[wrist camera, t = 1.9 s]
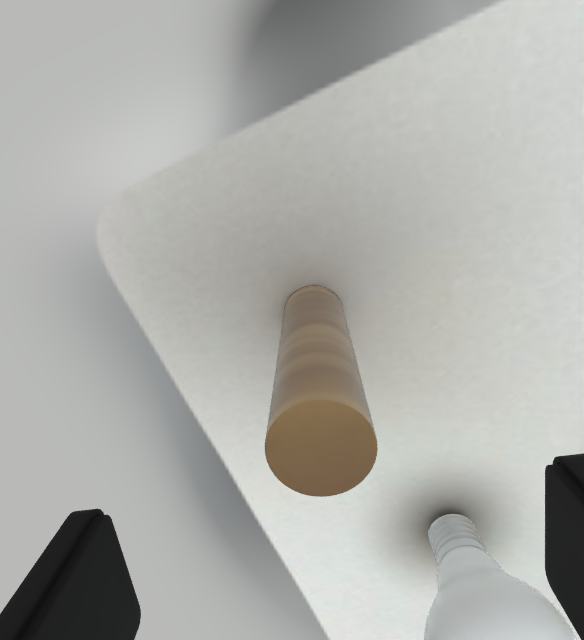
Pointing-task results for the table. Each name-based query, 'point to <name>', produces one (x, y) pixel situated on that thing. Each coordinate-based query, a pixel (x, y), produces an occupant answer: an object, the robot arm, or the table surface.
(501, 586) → the lightbulb
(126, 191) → the table surface
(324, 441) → the tan cylinder
